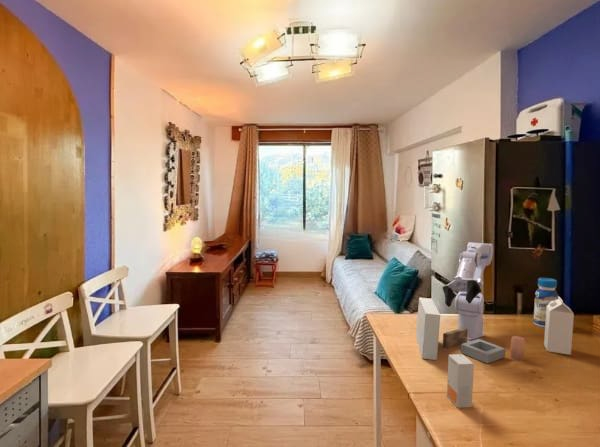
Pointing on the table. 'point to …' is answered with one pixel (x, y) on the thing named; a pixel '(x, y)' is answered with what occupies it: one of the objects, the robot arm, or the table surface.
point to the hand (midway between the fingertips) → (457, 303)
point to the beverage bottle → (544, 299)
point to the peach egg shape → (517, 347)
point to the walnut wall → (455, 337)
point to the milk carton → (558, 327)
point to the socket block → (483, 350)
